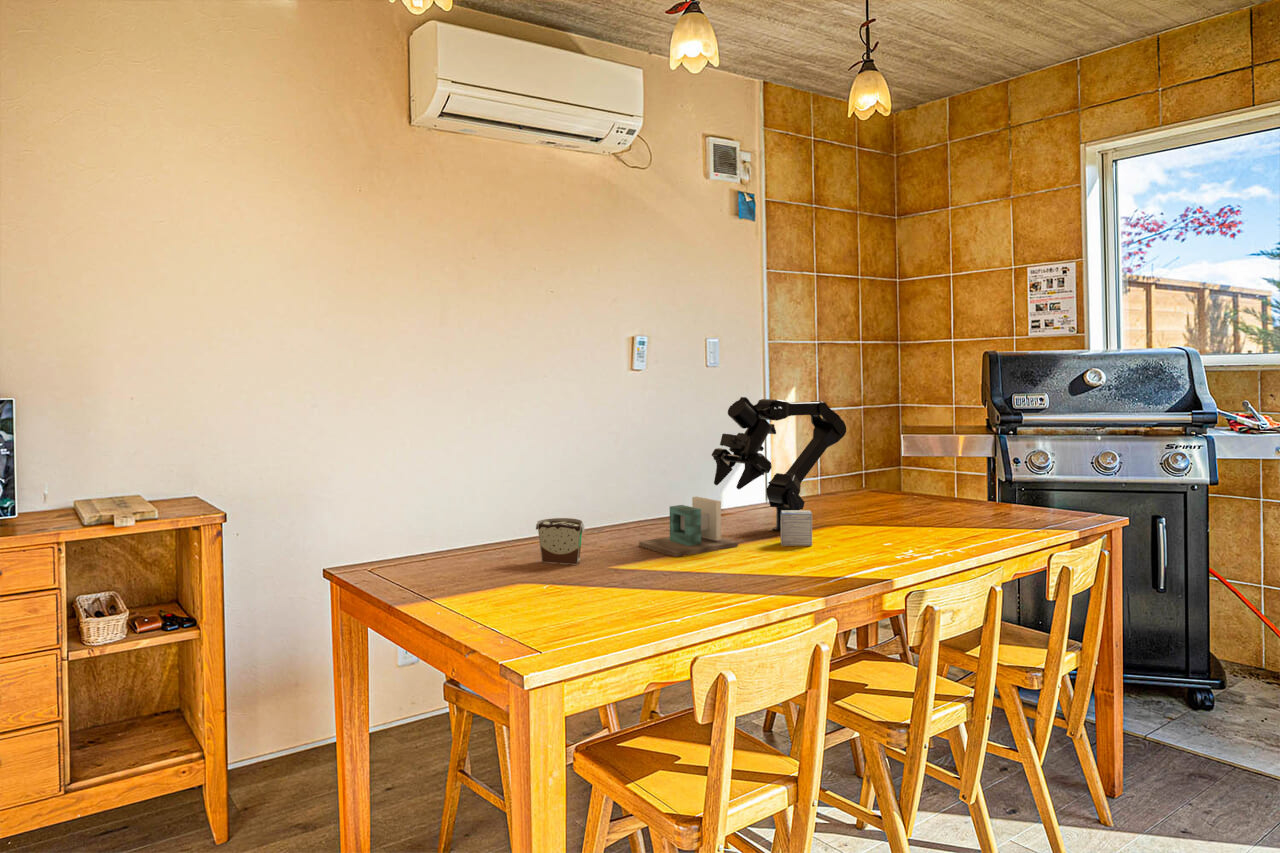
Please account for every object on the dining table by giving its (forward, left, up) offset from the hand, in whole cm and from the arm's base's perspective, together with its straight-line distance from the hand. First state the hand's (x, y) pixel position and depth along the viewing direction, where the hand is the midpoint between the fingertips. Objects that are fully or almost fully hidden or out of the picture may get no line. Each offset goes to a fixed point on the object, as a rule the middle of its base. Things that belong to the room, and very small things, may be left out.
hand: (726, 486), depth 227 cm
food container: (+39, -27, -15) cm, 49 cm away
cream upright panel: (+9, -5, -13) cm, 16 cm away
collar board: (+11, -6, -14) cm, 19 cm away
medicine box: (-2, +18, -15) cm, 24 cm away
